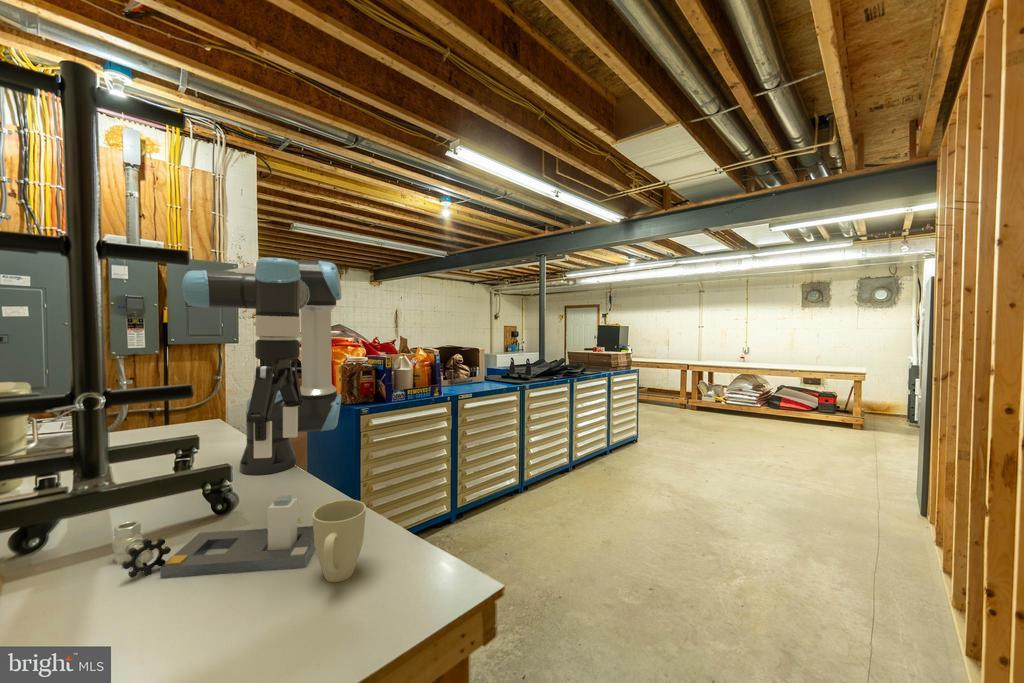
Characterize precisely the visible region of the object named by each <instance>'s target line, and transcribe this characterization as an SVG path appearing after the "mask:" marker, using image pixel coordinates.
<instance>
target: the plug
mask: <svg viewBox="0 0 1024 683" xmlns="http://www.w3.org/2000/svg"><path fill="white" fill-rule="evenodd" d="M297 527H298V498H297V497H296V498H295V497H294V498H292V495H291V494H290V495H278V496H277V497H276V498H275V499H274V500H273V502H272V503H271V504H270V505H269V507H267V529H268V550H283V549H293V548H294V546H295V545H296V543H297Z"/></svg>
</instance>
